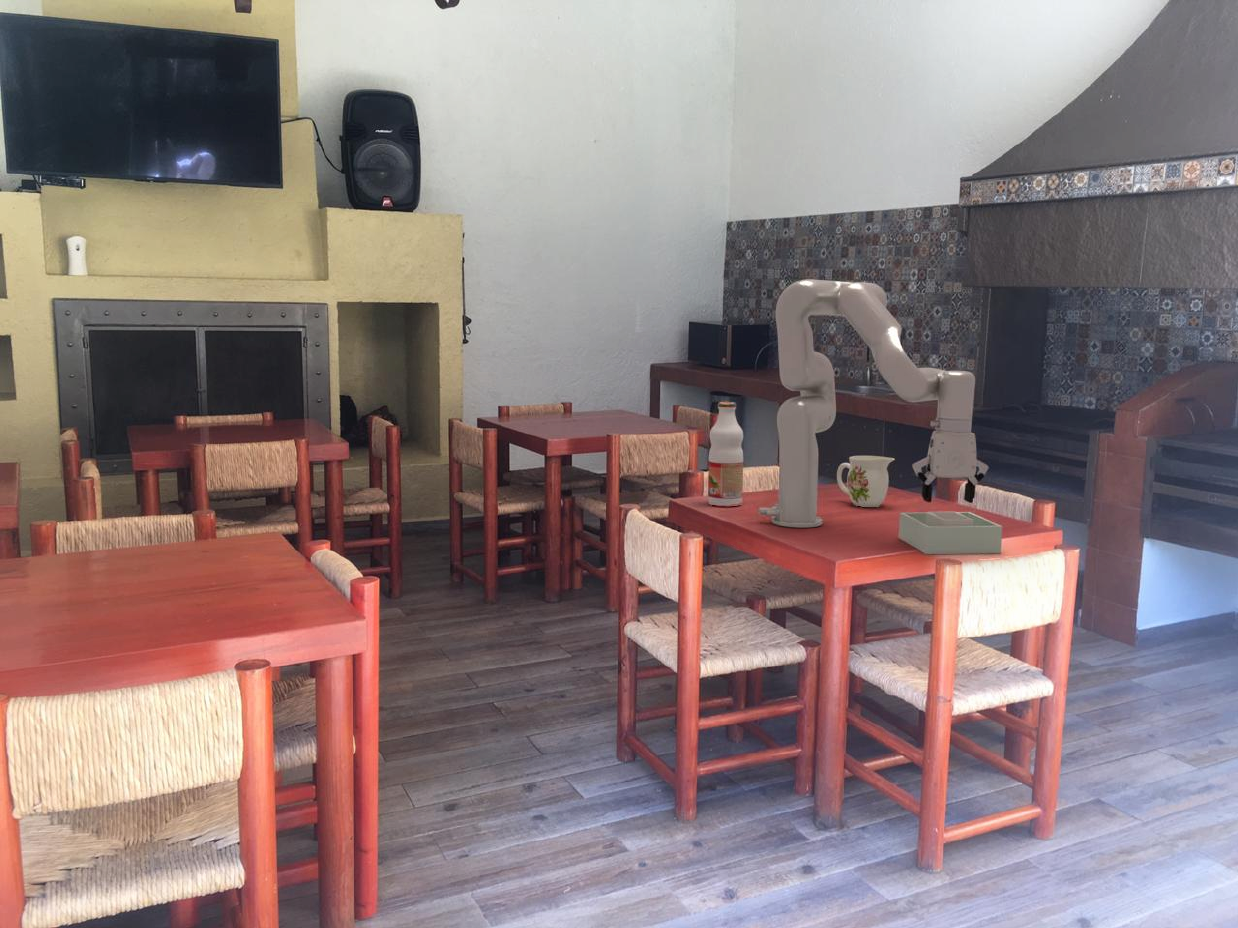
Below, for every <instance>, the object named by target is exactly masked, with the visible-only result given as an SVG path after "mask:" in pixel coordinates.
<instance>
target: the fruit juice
mask: <svg viewBox="0 0 1238 928" xmlns="http://www.w3.org/2000/svg"><path fill="white" fill-rule="evenodd" d="M717 409H718V415H717V419H716V422H715V424H713V426H712V427H711V429H710V430H709V439H710V440H709V441H710V448H709V451H708V468H707V469H708V474H707V475H708V477H707V478H708V479H707V480H708V481H707V502H710V503H713V504H718V505H731V504H739V503H742V504H743V490H744V488H743V487H744V486H743V485H744V483H743V482H744V450H743V448H742V443H743V440H744V431H743V429H742V427H741V426H740V425H739V423H738V421H737V417H736V410H737V403H736V402H735V401H734V402H733V401H721V402H718V403H717Z"/></svg>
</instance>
